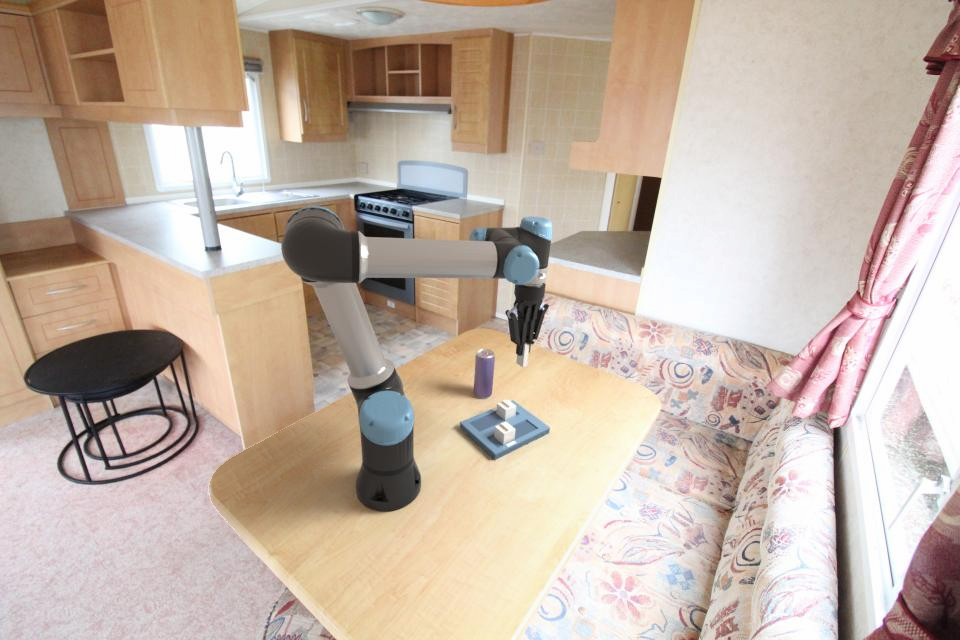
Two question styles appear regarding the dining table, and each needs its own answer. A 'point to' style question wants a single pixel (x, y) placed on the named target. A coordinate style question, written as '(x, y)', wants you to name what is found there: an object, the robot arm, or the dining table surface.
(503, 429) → the tab near
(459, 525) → the dining table surface
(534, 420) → the switch bank
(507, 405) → the tab far
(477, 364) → the beverage can
